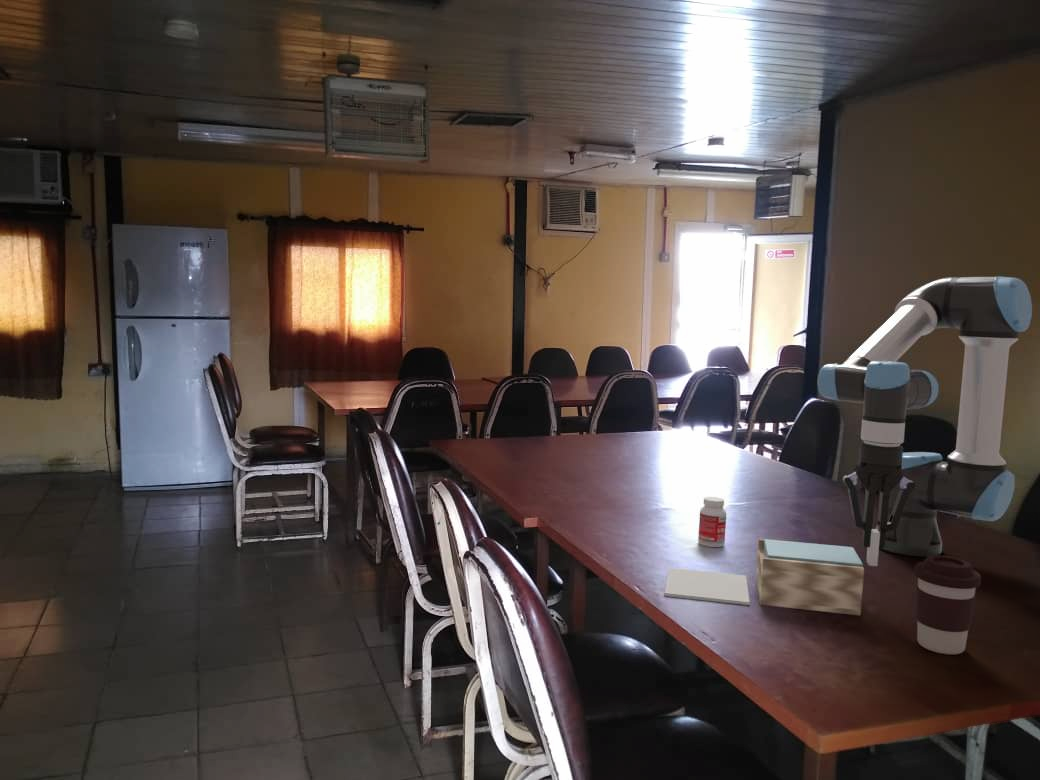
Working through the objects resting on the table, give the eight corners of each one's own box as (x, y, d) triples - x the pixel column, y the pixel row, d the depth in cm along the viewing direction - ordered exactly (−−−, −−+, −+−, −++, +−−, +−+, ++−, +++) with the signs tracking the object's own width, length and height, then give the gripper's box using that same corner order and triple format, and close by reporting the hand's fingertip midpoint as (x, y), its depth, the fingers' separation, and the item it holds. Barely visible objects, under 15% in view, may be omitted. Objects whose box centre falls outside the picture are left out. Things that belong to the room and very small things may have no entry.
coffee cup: (952, 635, 145) (960, 552, 144) (986, 659, 135) (995, 571, 134) (897, 634, 145) (904, 551, 143) (927, 658, 135) (935, 570, 133)
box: (848, 590, 167) (851, 547, 166) (860, 615, 153) (864, 568, 152) (756, 580, 171) (758, 538, 170) (760, 604, 157) (763, 558, 156)
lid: (851, 558, 165) (852, 547, 164) (861, 576, 154) (862, 564, 153) (763, 550, 168) (764, 539, 168) (767, 567, 157) (768, 555, 157)
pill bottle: (720, 549, 192) (723, 503, 190) (694, 545, 195) (697, 499, 193) (727, 543, 197) (730, 498, 196) (702, 539, 200) (705, 494, 199)
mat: (745, 578, 172) (745, 575, 172) (749, 605, 156) (749, 602, 156) (668, 570, 176) (668, 567, 175) (664, 595, 160) (664, 593, 160)
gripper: (913, 442, 158) (903, 561, 161) (842, 437, 161) (833, 554, 163) (923, 448, 151) (912, 573, 153) (848, 443, 154) (839, 566, 156)
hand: (871, 563), depth 158 cm, fingers closed
